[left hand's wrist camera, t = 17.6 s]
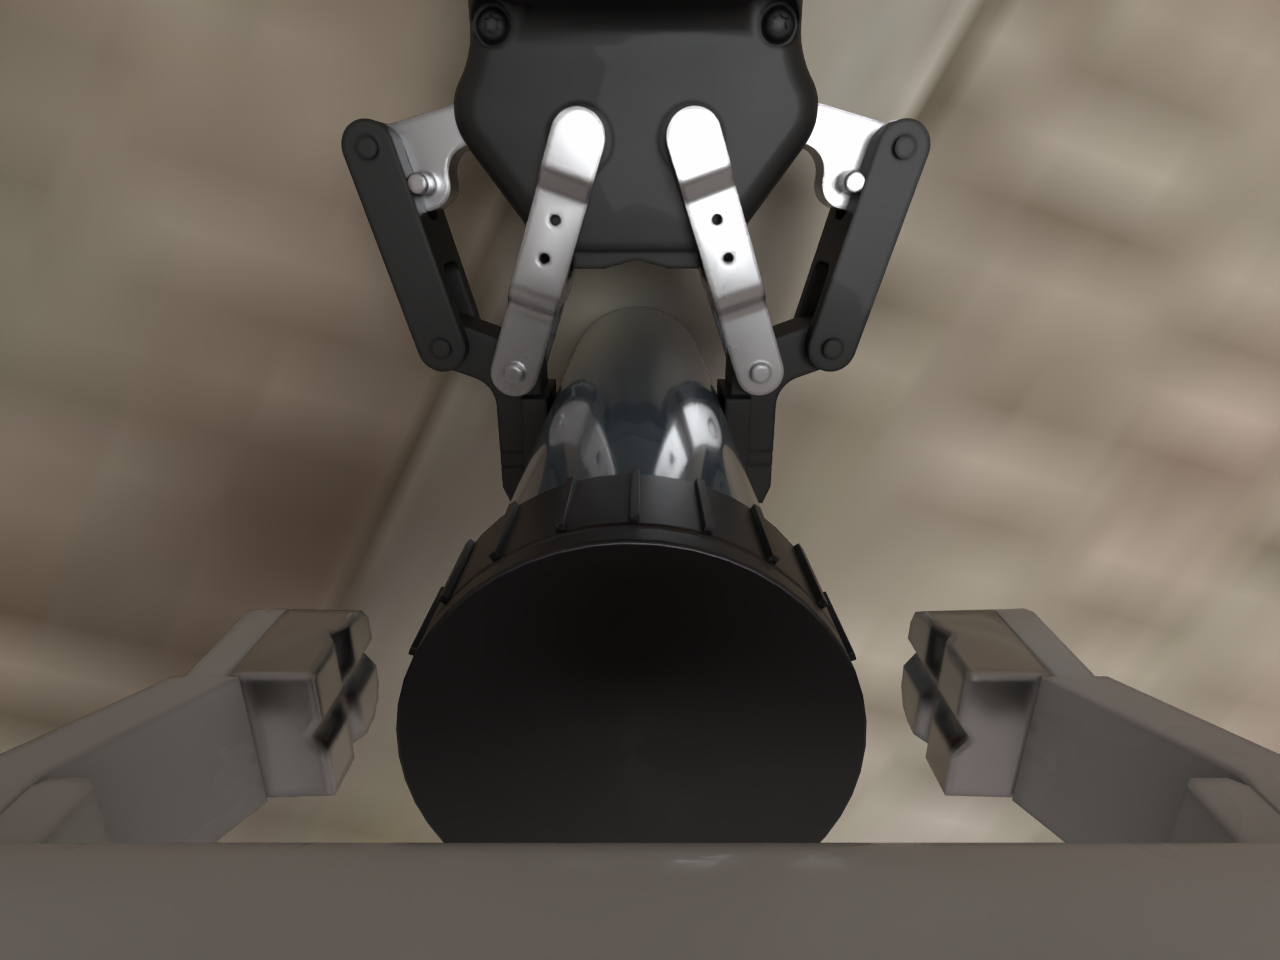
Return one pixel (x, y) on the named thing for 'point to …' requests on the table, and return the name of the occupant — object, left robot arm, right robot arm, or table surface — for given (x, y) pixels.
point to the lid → (631, 677)
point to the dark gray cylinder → (636, 411)
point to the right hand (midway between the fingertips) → (637, 509)
